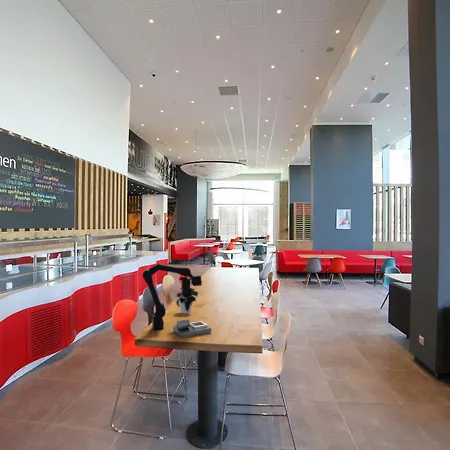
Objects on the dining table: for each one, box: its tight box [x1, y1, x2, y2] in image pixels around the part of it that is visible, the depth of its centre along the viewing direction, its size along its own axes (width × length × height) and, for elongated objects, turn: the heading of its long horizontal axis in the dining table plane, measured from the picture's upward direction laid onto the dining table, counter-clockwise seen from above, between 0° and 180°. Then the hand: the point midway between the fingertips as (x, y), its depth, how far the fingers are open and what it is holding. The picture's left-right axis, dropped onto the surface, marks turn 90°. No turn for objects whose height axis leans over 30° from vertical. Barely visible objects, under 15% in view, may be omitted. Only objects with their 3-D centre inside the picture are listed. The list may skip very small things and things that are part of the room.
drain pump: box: [180, 301, 192, 314], centre depth 207 cm, size 5×5×7 cm
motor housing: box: [172, 319, 212, 339], centre depth 195 cm, size 21×14×8 cm, turn 120°
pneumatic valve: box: [175, 298, 194, 308], centre depth 241 cm, size 6×12×12 cm, turn 82°
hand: (185, 309), depth 207 cm, fingers closed on drain pump, 5 cm apart
